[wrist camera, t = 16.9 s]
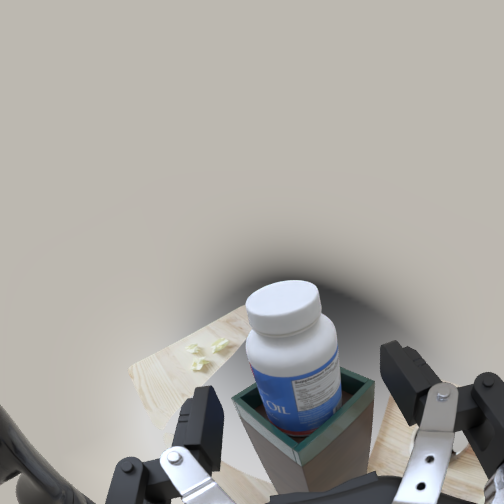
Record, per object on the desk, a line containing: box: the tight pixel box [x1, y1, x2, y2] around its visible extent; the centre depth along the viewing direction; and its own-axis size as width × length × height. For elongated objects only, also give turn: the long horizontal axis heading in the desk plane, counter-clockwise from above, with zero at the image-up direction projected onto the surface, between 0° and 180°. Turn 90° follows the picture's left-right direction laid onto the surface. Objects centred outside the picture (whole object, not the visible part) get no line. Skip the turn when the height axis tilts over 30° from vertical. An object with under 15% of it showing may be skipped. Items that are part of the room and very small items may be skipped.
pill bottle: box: [246, 280, 342, 437], centre depth 16 cm, size 6×5×10 cm
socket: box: [231, 367, 375, 467], centre depth 17 cm, size 7×7×2 cm
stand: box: [239, 390, 374, 495], centre depth 21 cm, size 7×7×27 cm
